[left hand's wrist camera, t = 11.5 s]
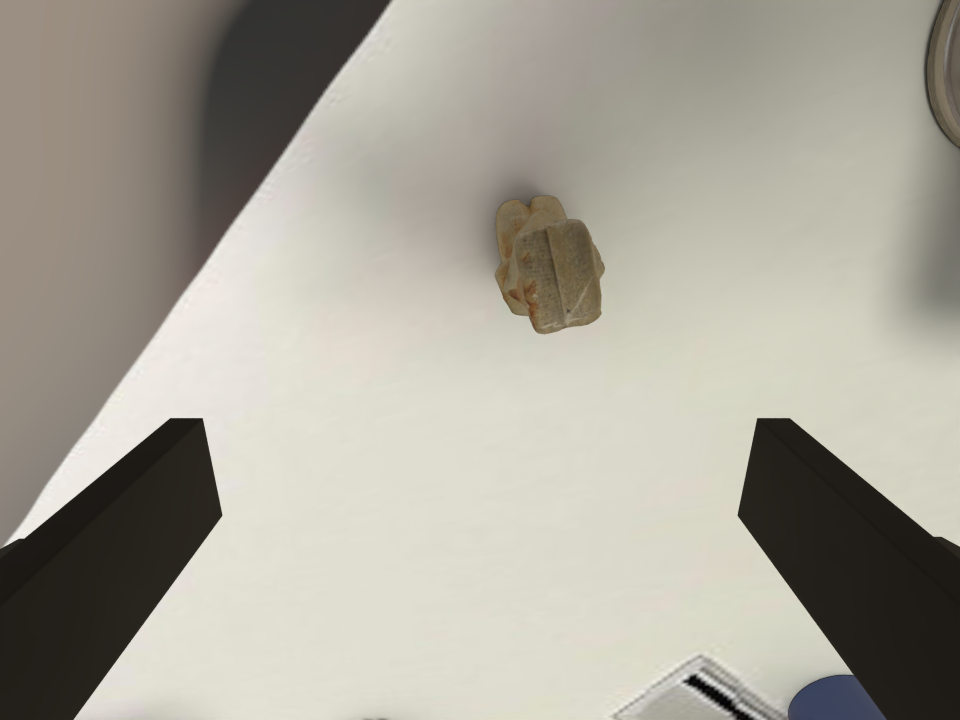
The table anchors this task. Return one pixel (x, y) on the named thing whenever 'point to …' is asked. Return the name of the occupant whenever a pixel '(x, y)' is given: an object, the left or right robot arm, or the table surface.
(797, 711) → the can
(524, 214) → the sculpture
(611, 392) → the table surface
